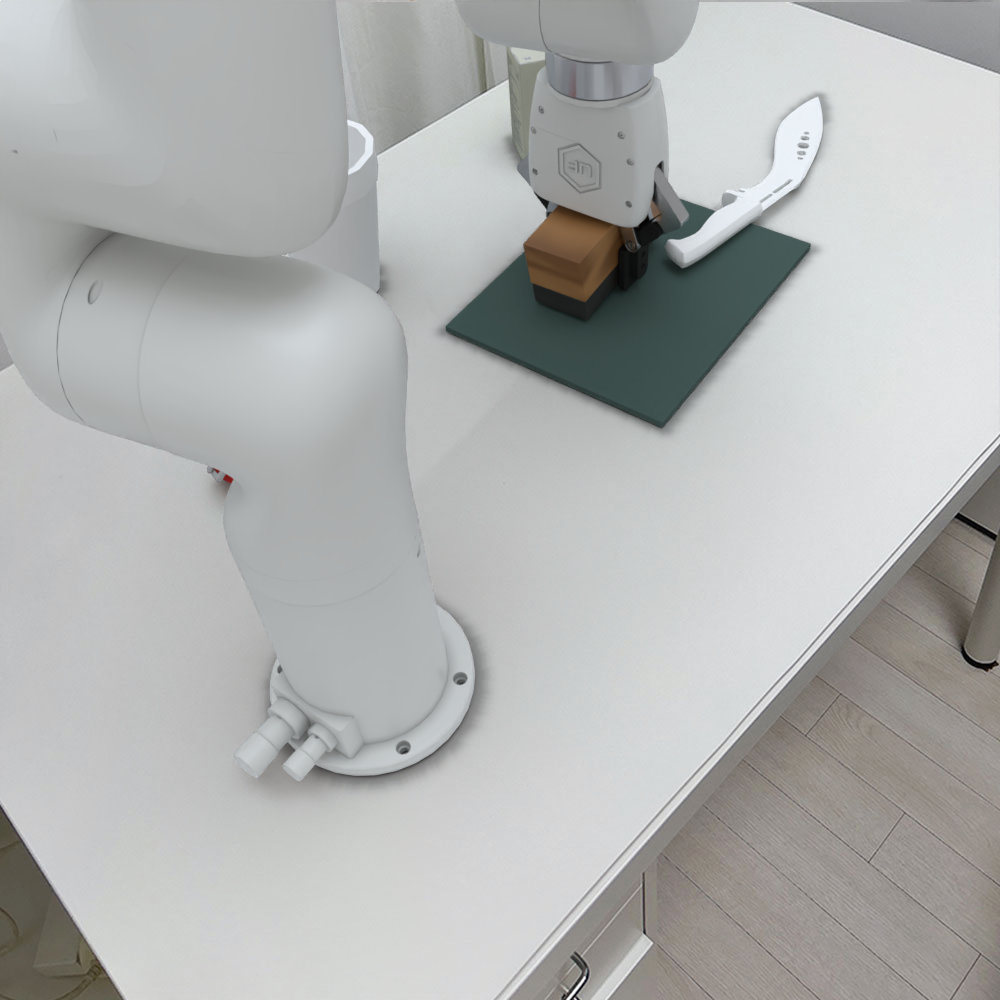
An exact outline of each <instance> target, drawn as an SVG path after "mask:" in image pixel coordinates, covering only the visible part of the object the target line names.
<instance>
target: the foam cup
mask: <svg viewBox="0 0 1000 1000" xmlns="http://www.w3.org/2000/svg"><path fill="white" fill-rule="evenodd" d="M347 124H348V148H349V170H348V182H347V188H346V191H345V195H344V198H343V202H342V205H341V209H340V212H339V214H338V216H337V218H336V220H335V221H334V223H333V225H332V226H331V227H330V228H329V229H328V230H327V232H325V233H324V234H323V235H322V236H321V237H320V238H319V239H318V240H317V241H316V242H314V243H313V244H312V245H310V246H308V247H306V248H304V249H301V250H299V251H297V252H293V253H289V254H288V257H291V258H295V259H300V260H303V261H307V262H310V263H314V264H318V265H321V266H324V267H327V268H329V269H332V270H335V271H337V272H340V273H343V274H345V275H347V276H349V277H351V278H353V279H355V280H357V281H359V282H361V283H363V284H365V285H366V286H368V287H369V288H371V289H372V290H373V291H375V292H376V293H377V292H378V291H379V290H380V287H381V286H380V284H381V264H380V262H381V261H380V238H379V235H380V234H379V213H378V209H379V208H378V189H377V188H378V186H377V185H378V184H377V182H378V180H379V176H378V175H379V160H378V155H377V149H376V144H375V143H376V142H375V138H374V136H373V135H372V133H370V132H369V130H368V129H367V128H366V127H365V126H364V125H363V124H361V123H358V122H356V121H353V120H350V119H348V118H347Z"/></svg>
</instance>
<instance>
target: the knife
mask: <svg viewBox="0 0 1000 1000" xmlns="http://www.w3.org/2000/svg"><path fill="white" fill-rule="evenodd" d="M823 128H824V119H823V111H822V105H821V101H820V98H819V96H815V97H813V98H811V99H809V100H807V101H806V102H803V104H801V105H800V106H798V107H796V108H795V109H794V110H793V111H791V112H790V113H789V114H788V115H787V116H786V117H785V118H784V119H783V120H782V122H780V123H779V126H778V128H777V131H776V132H775V137H774V138H775V139H774V146H773V147H774V148H773V149H774V150H773V153H774V154H773V162H772V163H773V164H772V167H771V169H770V172H769V173H768V175H767V176H765V178H763V179H762V180H761V181H760V182H759V183H757V184H756V185H753V186H751V187H750V188H744V187H739V189H738V191H736V190H733V189H725V190H724V191H723V193H722V195H721V206H722V207H721V208H719V209H718V210H715V211H716V212H715V213H714V214H713V215H711V216H710V217H709V218H708V220H707V221H706V222H705V224H704V225H703V226H702V228H701V229H700V230H699V231H698V232H697V233H695V234H693V235H691V236H689V237H686V238H684V239H681V240H674V239H670V240H668V241H667V242H666V244H665V250H666V253H667V255H668V256H669V258H670V259H671V260H672V261H673V262H674V263H676V264H677V265H678V266H680V267H681V268H685V267H688V266H690V265H692V264H693V263H695V262H697V261H698V260H700V259H702V258H703V257H704V256H706V255H707V254H709V253H710V252H712V251H713V250H714V249H716V248H717V247H718V246H720V245H721V244H723V243H724V242H725V241H727V240H728V239H730V238H731V237H732V236H734V235H735V234H736V233H738V232H739V231H741V230H742V229H743V228H745V227H746V226H747V225H749V224H750V223H752V224H753V222H755V221H756V220H758V219H759V218H760V217H761V216H762V215H763V211H765V210H766V209H768V208H769V207H770V206H772V205H774V203H776V202H777V201H779V200H780V199H781V198H783V197H784V196H786V195H787V194H789V193H790V192H792V190H796V189H797V188H799V187H800V186H801V183H802V182H803V180H805V177H806V175H807V174H808V172H809V170H810V168H811V166H812V164H813V162H814V159H815V157H816V155H817V152H818V150H819V147H820V144H821V141H822V136H823V130H824V129H823ZM800 146H804V148H802V147H800ZM805 147H806V148H805ZM801 154H802V155H801Z"/></svg>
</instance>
